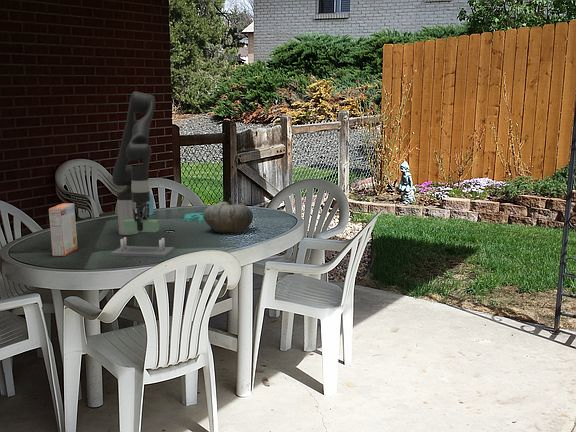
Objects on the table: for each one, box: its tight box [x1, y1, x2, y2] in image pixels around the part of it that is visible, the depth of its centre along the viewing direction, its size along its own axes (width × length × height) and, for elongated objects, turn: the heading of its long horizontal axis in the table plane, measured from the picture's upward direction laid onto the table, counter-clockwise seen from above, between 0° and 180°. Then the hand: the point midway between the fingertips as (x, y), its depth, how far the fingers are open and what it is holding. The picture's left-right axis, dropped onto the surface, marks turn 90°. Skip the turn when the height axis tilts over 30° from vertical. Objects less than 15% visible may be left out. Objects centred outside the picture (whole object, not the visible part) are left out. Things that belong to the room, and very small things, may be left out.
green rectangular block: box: [124, 218, 160, 233], centre depth 294 cm, size 5×14×4 cm, turn 82°
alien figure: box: [183, 212, 205, 224], centre depth 378 cm, size 20×2×20 cm
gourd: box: [202, 197, 254, 234], centre depth 342 cm, size 25×25×17 cm
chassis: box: [109, 236, 175, 258], centre depth 295 cm, size 14×24×6 cm, turn 82°
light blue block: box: [145, 193, 155, 216], centre depth 387 cm, size 12×4×12 cm, turn 152°
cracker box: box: [48, 202, 78, 257], centre depth 295 cm, size 14×6×21 cm, turn 174°
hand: (142, 229), depth 294 cm, fingers closed on green rectangular block, 5 cm apart
